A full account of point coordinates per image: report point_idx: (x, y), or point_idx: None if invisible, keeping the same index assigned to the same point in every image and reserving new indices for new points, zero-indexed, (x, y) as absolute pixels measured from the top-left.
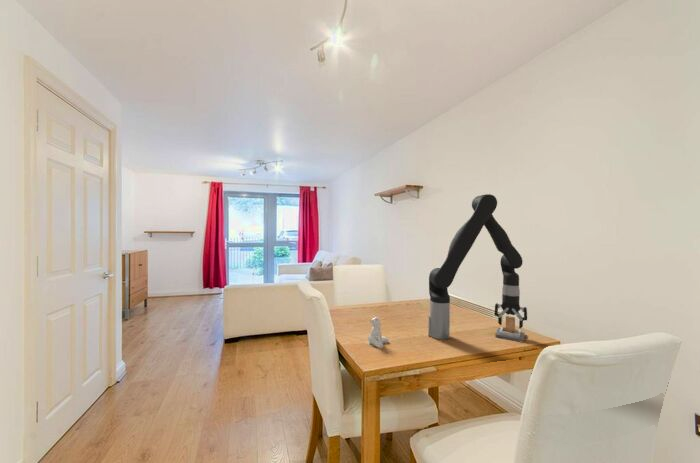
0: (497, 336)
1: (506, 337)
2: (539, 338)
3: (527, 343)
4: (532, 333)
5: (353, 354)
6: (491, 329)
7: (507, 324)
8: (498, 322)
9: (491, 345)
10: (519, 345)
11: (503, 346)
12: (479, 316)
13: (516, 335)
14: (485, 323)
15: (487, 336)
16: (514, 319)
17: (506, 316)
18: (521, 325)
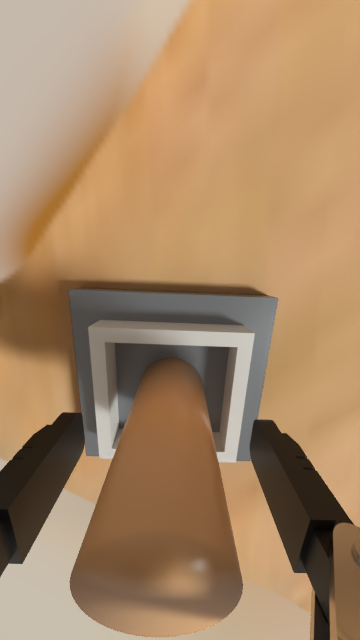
0: (255, 296)
1: (193, 294)
2: (10, 420)
3: (53, 278)
4: None
5: None
6: None
7: (195, 420)
8: (296, 445)
9: (313, 20)
10: (95, 190)
11: (209, 66)
12: None
13: (118, 323)
14: None
15: (324, 274)
16: (85, 534)
17: (229, 606)
18: (36, 444)
